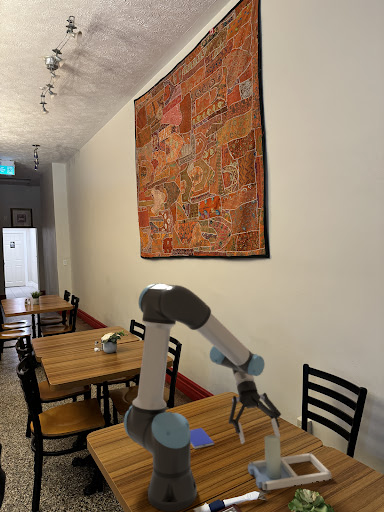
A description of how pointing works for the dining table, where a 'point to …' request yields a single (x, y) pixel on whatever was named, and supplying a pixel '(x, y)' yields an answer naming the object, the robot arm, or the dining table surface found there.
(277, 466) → the pale green cylinder
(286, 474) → the bay rack
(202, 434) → the blue book
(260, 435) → the dining table surface
